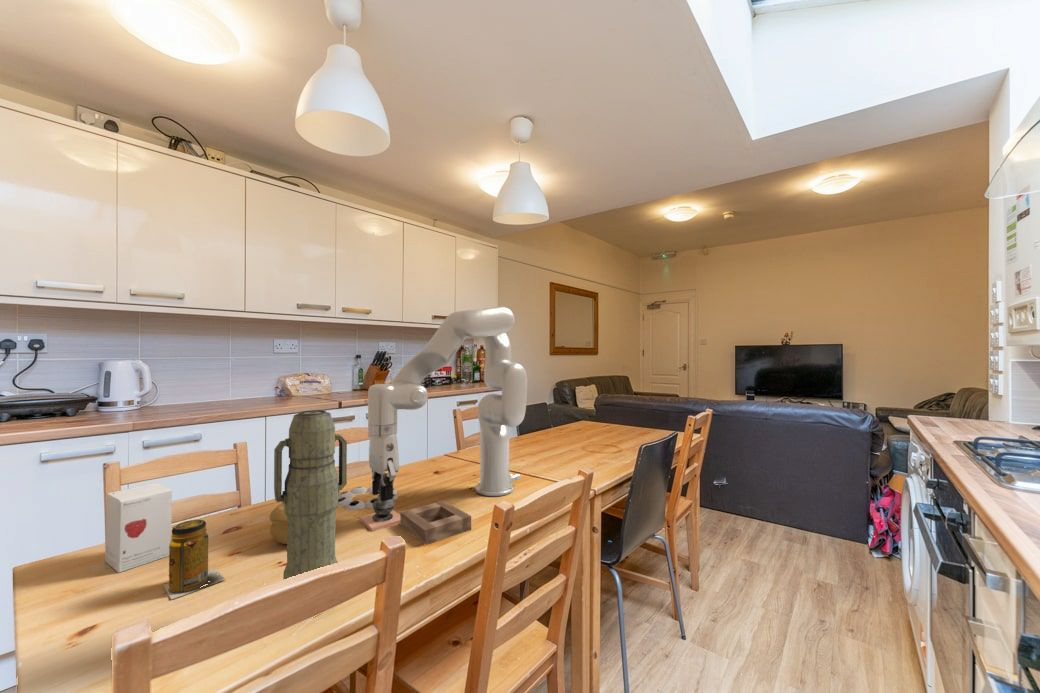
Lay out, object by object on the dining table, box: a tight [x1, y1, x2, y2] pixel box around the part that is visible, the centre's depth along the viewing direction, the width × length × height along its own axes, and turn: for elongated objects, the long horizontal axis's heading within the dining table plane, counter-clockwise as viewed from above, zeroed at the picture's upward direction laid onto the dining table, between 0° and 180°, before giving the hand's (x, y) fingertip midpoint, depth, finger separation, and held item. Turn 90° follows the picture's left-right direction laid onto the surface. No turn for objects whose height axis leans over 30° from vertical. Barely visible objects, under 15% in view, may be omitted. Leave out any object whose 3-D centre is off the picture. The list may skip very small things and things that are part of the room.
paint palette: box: [337, 485, 399, 511], centre depth 128 cm, size 20×20×2 cm
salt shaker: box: [372, 475, 396, 521], centre depth 111 cm, size 6×6×12 cm
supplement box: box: [104, 482, 173, 573], centre depth 91 cm, size 9×9×15 cm
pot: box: [269, 502, 287, 545], centre depth 101 cm, size 12×12×10 cm
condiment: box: [162, 519, 226, 600], centre depth 82 cm, size 7×8×12 cm
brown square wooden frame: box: [399, 500, 472, 546], centre depth 107 cm, size 13×14×4 cm
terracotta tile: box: [359, 509, 400, 532], centre depth 111 cm, size 9×9×1 cm
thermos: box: [273, 409, 348, 580], centre depth 75 cm, size 9×12×35 cm
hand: (382, 496), depth 111 cm, fingers open, 5 cm apart
